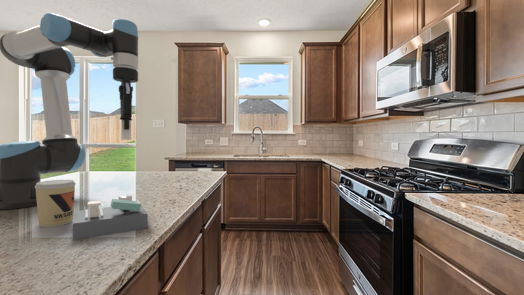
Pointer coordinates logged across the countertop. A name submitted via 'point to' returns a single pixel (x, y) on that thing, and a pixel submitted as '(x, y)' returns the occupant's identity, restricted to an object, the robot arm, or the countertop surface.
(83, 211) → the console
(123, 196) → the plunger
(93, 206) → the slider
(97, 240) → the countertop surface
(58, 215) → the coffee cup
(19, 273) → the countertop surface
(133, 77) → the robot arm
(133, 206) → the block
